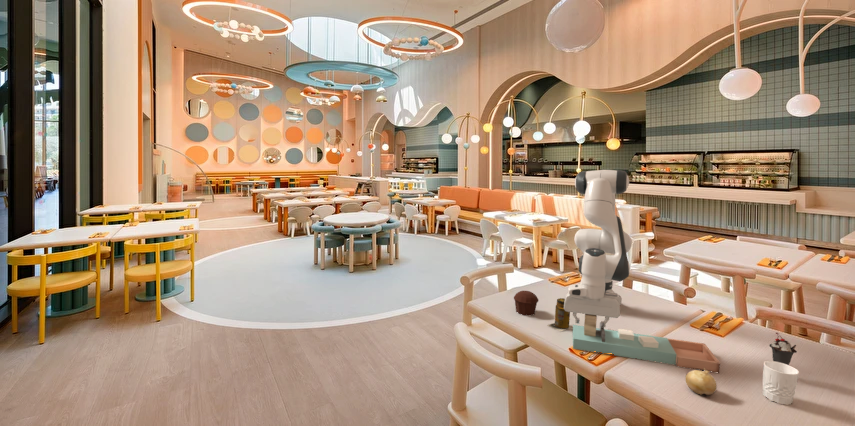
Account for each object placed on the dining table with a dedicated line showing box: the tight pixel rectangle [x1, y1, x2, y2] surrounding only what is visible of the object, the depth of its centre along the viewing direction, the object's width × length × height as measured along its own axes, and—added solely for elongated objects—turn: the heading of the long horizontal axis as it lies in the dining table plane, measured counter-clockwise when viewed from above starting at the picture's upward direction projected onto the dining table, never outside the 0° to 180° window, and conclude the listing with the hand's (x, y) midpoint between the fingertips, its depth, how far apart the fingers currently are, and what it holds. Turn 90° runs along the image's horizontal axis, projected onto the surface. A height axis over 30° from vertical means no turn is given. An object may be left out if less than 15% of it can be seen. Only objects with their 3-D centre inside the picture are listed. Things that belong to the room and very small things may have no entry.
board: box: [572, 324, 677, 366], centre depth 149 cm, size 14×34×4 cm, turn 70°
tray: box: [666, 337, 721, 374], centre depth 141 cm, size 16×12×4 cm
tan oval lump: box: [685, 368, 717, 396], centre depth 120 cm, size 8×8×7 cm
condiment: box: [547, 297, 573, 332], centre depth 168 cm, size 7×8×12 cm
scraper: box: [583, 314, 605, 342], centre depth 151 cm, size 12×7×8 cm, turn 160°
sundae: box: [768, 332, 798, 366], centre depth 129 cm, size 7×7×15 cm
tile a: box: [617, 328, 634, 341], centre depth 150 cm, size 5×5×2 cm
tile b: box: [638, 336, 659, 348], centre depth 144 cm, size 5×5×2 cm
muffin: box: [513, 290, 539, 316], centre depth 185 cm, size 12×11×10 cm
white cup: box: [761, 360, 800, 405], centre depth 117 cm, size 8×8×10 cm
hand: (590, 324), depth 152 cm, fingers open, 8 cm apart
